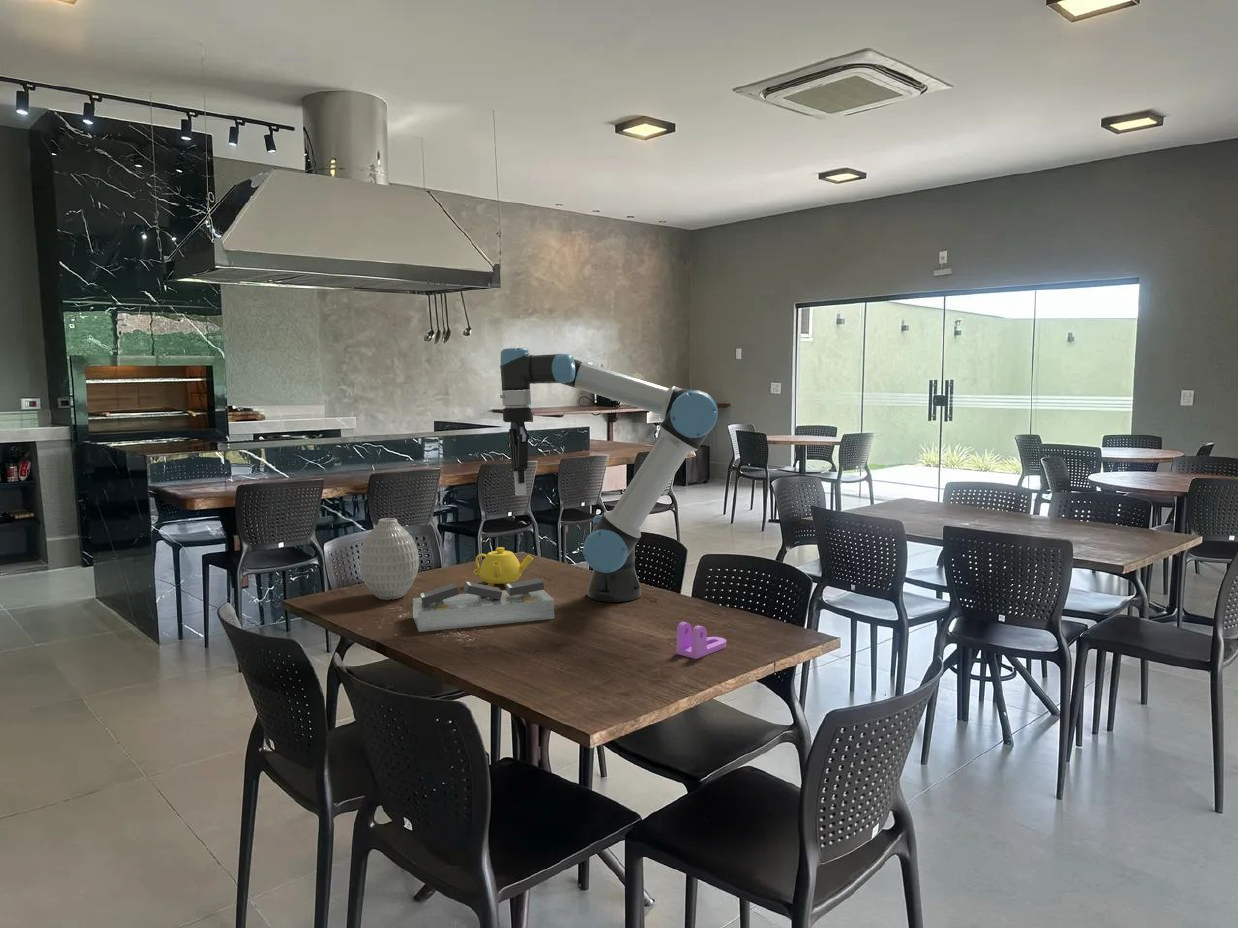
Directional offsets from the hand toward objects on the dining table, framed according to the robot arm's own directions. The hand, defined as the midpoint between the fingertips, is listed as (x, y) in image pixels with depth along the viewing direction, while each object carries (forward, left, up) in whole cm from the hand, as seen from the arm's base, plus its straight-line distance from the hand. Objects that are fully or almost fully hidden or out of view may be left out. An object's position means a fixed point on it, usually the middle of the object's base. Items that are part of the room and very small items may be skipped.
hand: (520, 495), depth 229 cm
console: (+12, +8, -30) cm, 34 cm away
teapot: (0, -26, -31) cm, 40 cm away
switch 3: (+1, +8, -23) cm, 25 cm away
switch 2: (+12, +8, -23) cm, 27 cm away
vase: (+33, -23, -31) cm, 51 cm away
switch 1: (+23, +8, -23) cm, 34 cm away
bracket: (-30, +51, -31) cm, 67 cm away
